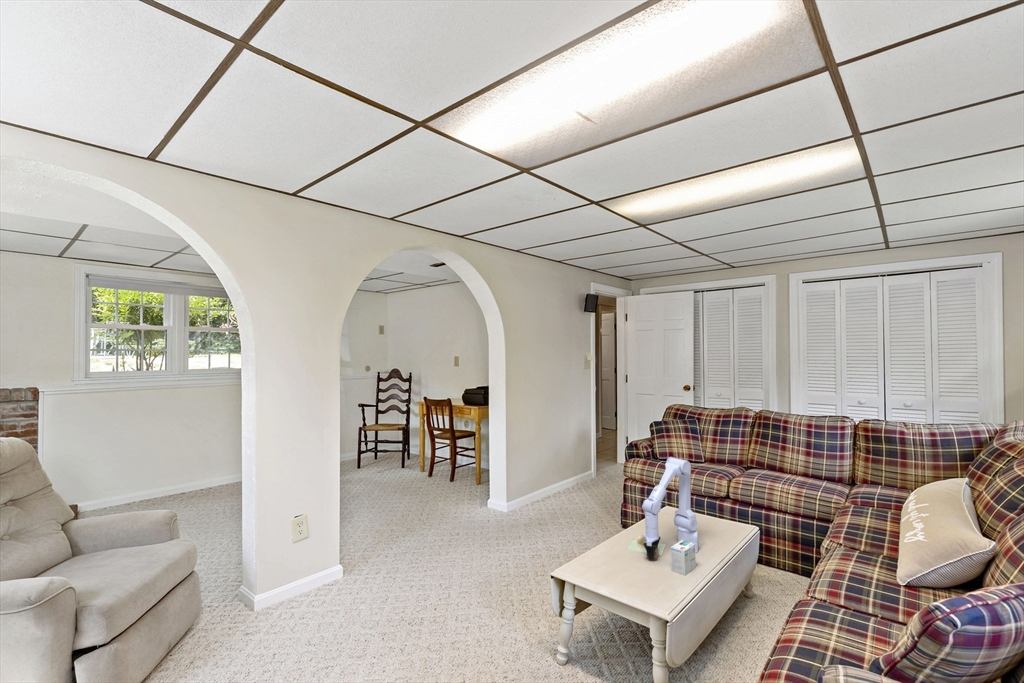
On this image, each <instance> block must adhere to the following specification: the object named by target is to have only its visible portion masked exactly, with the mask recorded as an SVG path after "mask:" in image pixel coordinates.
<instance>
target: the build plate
mask: <svg viewBox="0 0 1024 683" xmlns="http://www.w3.org/2000/svg"><path fill="white" fill-rule="evenodd" d="M666 546H667V543H660V542H659V543H658V549H659V556H662V554H663V552H664V551H665V548H666ZM626 551H631V552H632V551H633V552H637V553H643V554H647V551H646V549H645V548H640V547H637V538H636V539H634V538H633V539H632V541H631V542H630V543H629V545H628V547H627V549H626Z"/></svg>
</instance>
